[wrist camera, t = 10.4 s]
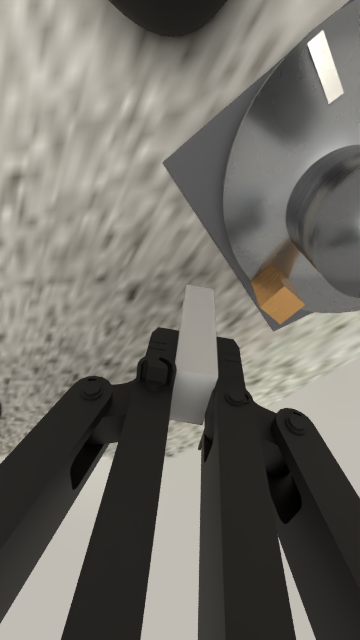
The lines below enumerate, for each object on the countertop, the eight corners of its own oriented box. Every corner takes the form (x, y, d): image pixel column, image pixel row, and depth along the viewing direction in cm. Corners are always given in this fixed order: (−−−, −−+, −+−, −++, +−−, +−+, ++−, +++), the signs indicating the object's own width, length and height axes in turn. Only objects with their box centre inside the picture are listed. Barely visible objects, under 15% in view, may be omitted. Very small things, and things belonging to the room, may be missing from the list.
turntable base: (272, 327, 28) (276, 340, 26) (163, 162, 20) (159, 164, 18) (521, 206, 20) (551, 212, 19) (492, -123, 13) (538, -165, 11)
